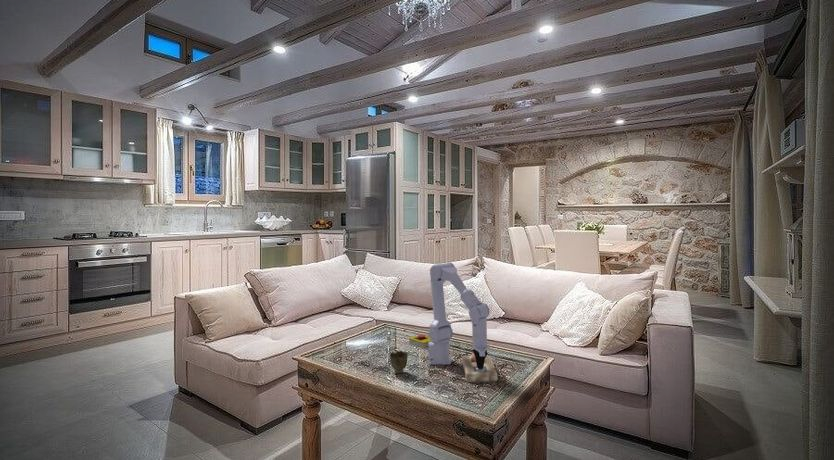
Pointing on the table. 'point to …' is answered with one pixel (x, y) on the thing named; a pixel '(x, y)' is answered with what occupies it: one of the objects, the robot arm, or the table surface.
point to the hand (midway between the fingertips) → (480, 368)
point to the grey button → (480, 369)
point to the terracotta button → (473, 358)
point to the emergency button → (420, 341)
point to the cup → (398, 361)
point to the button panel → (479, 376)
